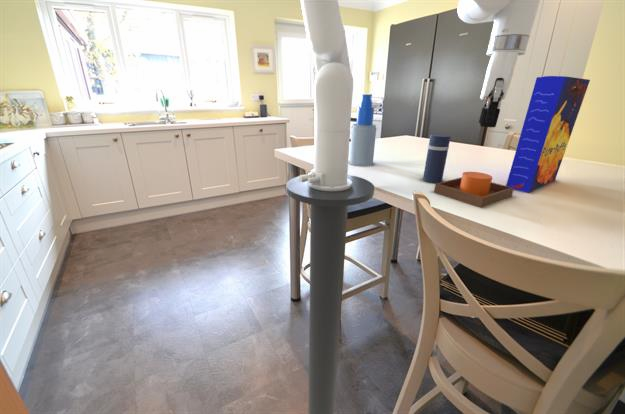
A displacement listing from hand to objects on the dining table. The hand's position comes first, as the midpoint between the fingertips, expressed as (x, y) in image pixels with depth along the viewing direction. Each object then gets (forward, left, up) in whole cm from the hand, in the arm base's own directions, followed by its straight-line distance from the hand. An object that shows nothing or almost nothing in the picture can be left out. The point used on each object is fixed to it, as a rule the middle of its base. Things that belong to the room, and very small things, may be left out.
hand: (486, 125), depth 71 cm
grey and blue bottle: (-2, +43, -19) cm, 47 cm away
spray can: (+2, +14, -18) cm, 23 cm away
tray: (0, 0, -18) cm, 18 cm away
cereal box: (+26, -4, -19) cm, 32 cm away
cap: (+1, 0, -18) cm, 18 cm away
